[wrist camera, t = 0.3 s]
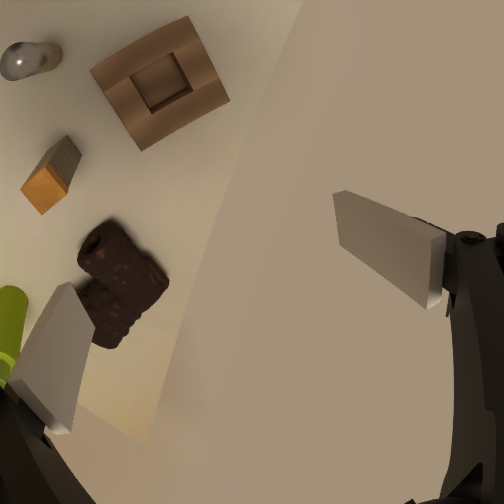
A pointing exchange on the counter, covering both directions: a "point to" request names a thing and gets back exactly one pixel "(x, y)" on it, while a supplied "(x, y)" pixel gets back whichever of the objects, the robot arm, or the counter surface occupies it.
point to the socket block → (161, 82)
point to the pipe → (117, 283)
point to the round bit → (29, 59)
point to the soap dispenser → (11, 328)
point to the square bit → (52, 175)
